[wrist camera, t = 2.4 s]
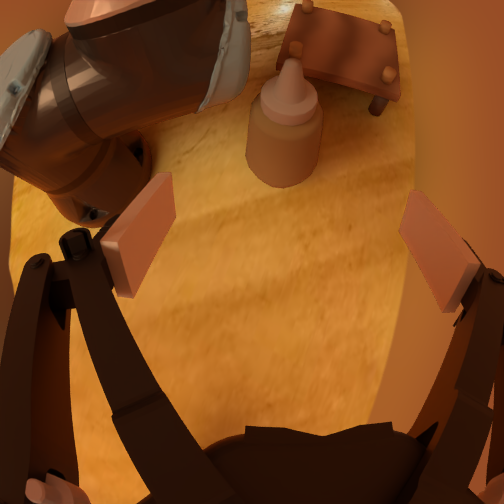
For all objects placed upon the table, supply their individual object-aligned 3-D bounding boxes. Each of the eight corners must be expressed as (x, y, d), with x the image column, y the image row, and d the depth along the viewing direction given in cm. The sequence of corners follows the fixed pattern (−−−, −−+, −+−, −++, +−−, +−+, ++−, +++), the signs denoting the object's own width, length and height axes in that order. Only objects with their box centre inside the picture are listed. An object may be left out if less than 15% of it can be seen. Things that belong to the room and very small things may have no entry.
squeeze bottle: (266, 208, 35) (270, 121, 17) (235, 154, 36) (217, 49, 18) (324, 180, 35) (371, 87, 17) (292, 130, 36) (309, 23, 18)
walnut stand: (274, 93, 37) (276, 51, 29) (292, 31, 40) (296, -6, 31) (384, 121, 36) (406, 86, 28) (383, 54, 38) (397, 21, 30)
